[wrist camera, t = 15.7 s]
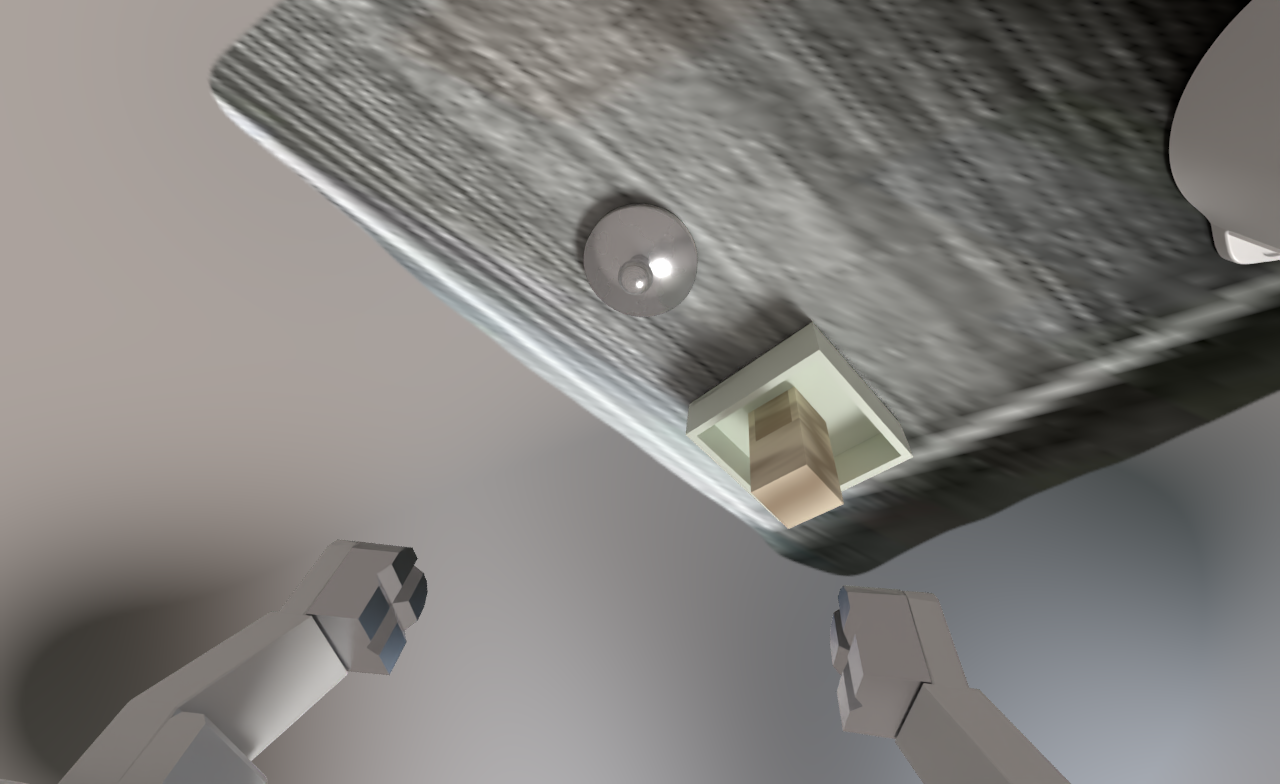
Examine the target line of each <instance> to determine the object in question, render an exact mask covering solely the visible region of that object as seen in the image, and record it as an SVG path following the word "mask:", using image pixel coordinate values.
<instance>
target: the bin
mask: <svg viewBox="0 0 1280 784" xmlns="http://www.w3.org/2000/svg"><path fill="white" fill-rule="evenodd" d="M792 387H795V388H796V389H797V390H798V391H799V392H800V393H801V394H802V396H803V397H804V398H805V399H806V400H807V401H808V402H809V403H810V405H811V406H812V407H813V408H814V409H815V410H816V411H817V412H818V414H819V415H820V416H821V417H822V418H823V419H824V420H825V422H826V425H827V429H828V434H829V438H830V443H831V448H832V452H833V457H834V461H835V466H836V470H837V475H838V480H839V484H840V489H841V492H842V491H844V490H846V489H848V488H850V487H852V486H854V485H856V484H858V483H860V482H862V481H864V480H866V479H868V478H871V477H873V476H875V475H877V474H879V473H881V472H883V471H885V470H887V469H889V468H891V467H893V466H895V465H897V464H899V463H902V462H904V461H906V460H908V459H910V458H912V457H913V455H912V452H911V450H910V447H909V445H908V442H907V440H906V437H905V434H904V432H903V429H902V427H901V424H900V423H899V422H898V420H897V419H896V418H895V417H894V416H893V415H892V414H891V412H890V411H889V410H888V409H887V408H886V407H885V405H884V404H883V403H882V402H881V401H880V400H879V398H878V397H877V396H876V395H875V394H874V393H873V391H872V390H871V389H870V388H869V387H868V386H867V385H866V383H865V382H864V381H863V380H862V379H861V378H860V376H859V375H858V374H857V373H856V372H855V371H854V369H853V368H852V367H851V366H850V365H849V364H848V362H847V361H846V360H845V359H844V358H843V357H842V355H841V354H840V353H839V352H838V351H837V350H836V349H835V347H834V346H833V345H832V344H831V343H830V342H829V340H828V339H827V338H826V337H825V336H824V335H823V333H822V332H821V331H820V330H819V329H818V328H817V326H816V325H815V324H814V323H813V322H811V323H810V324H808V325H807V326H805V327H804V328H802V329H801V330H799V331H798V332H796V333H795V334H794V335H792V336H791V337H789V338H788V339H786V340H785V341H783V342H782V343H780V344H779V345H777V346H776V347H774V348H773V349H771V350H770V351H768V352H767V353H765V354H764V355H762V356H761V357H759V358H758V359H756V360H755V361H753V362H752V363H750V364H749V365H747V366H746V367H744V368H743V369H741V370H740V371H738V372H737V373H735V374H734V375H732V376H731V377H729V378H728V379H726V380H725V381H723V382H722V383H720V384H719V385H717V386H716V387H714V388H713V389H711V390H710V391H708V392H707V393H705V394H704V395H702V396H701V397H699V398H698V399H696V400H695V401H693V402H692V403H690V404H689V410H688V419H687V428H686V435H687V436H688V437H689V438H690V439H691V440H692V441H693V442H694V443H695V444H696V445H697V446H698V447H700V448H701V449H702V450H703V451H704V452H705V453H706V454H707V455H708V456H709V457H710V458H711V459H713V460H714V461H715V462H716V463H717V464H718V465H719V466H720V467H721V468H722V469H723V470H724V471H725V472H727V473H728V474H729V475H730V476H731V477H732V478H733V479H734V480H735V481H736V482H737V483H738V484H740V485H741V486H742V487H743V488H744V489H745V490H746V491H747V492H748V493H749V494H750V495H751V496H753V497H754V498H755V499H756V500H757V501H758V502H759V503H760V504H761V505H762V506H763V507H764V508H766V507H765V506H764V505H763V504H762V503H761V502H760V501H759V500H758V499H757V498H756V497H755V496H754V495H753V494H752V493H751V481H750V452H749V424H748V413H750V412H752V411H753V410H755V409H757V408H758V407H760V406H762V405H763V404H765V403H767V402H768V401H770V400H772V399H774V398H775V397H777V396H779V395H780V394H782V393H784V392H785V391H787V390H789V389H791V388H792ZM766 509H767V508H766ZM767 510H768V509H767ZM768 511H769V510H768ZM769 512H770V511H769ZM770 513H771V512H770ZM771 514H772V513H771ZM772 515H773V516H774V517H775V518H776V519H777V520H778V521H780V520H779V519H778V518H777V517H776V516H775V515H774V514H772Z"/></svg>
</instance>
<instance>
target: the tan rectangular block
mask: <svg viewBox="0 0 1280 784" xmlns="http://www.w3.org/2000/svg"><path fill="white" fill-rule="evenodd" d="M748 424H749V452H750V481H751V493H752V494H753V495H754V496H755V497H756V498H757V499H758V500H759V501H760V502H761V503H762V504H763V505H764V506H765V507H766V508H767V509H768V510H769V511H770V512H771V513H772V514H774V515H775V516H776V517H777V518H778V519H779V520H780V521H781V522H782V523H783V524H784V525H785V526H786V527H787V528H788V529H789V528H791V527H794V526H796V525H798V524H800V523H803V522H805V521H807V520H809V519H811V518H814V517H816V516H818V515H820V514H823V513H825V512H827V511H829V510H831V509H834V508H836V507H838V506H840V505H843V504H844V503H843V498H842V493H841V489H840V484H839V480H838V475H837V470H836V466H835V461H834V457H833V452H832V448H831V443H830V438H829V434H828V429H827V425H826V422H825V420H824V419H823V418H822V417H821V416H820V415H819V414H818V412H817V411H816V410H815V409H814V408H813V407H812V406H811V405H810V403H809V402H808V401H807V400H806V399H805V398H804V397H803V396H802V394H801V393H800V392H799V391H798V390H797V389H796V388H795V387H792V388H791V389H789V390H787V391H785V392H784V393H782V394H780V395H779V396H777V397H775V398H774V399H772V400H770V401H768V402H767V403H765V404H763V405H762V406H760V407H758V408H757V409H755V410H753V411H752V412H750V413H748Z"/></svg>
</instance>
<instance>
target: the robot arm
mask: <svg viewBox="0 0 1280 784" xmlns="http://www.w3.org/2000/svg"><path fill="white" fill-rule="evenodd" d="M1169 158H1170V166H1171V171H1172V174H1173V177H1174V180H1175V182H1176V185H1177V186H1178V188H1179V190H1180V192H1181V193H1182V194H1183V196H1184V197H1185V198H1186V199H1187V200H1188V201H1189V202H1190V203H1191V204H1192V205H1193V206H1194V207H1195V208H1196V209H1198V210H1199V211H1200V212H1201V213H1202V214H1203V215H1204V216H1205V217H1206V218H1207V219H1208V220H1209V222H1210V223H1211V227H1212V234H1213V239H1214V243H1215V247H1216V249H1217V252H1218V253H1219V255H1220V256H1221V257H1222V258H1224V259H1226V260H1229V261H1232V262H1235V263H1238V264H1253V263H1260V262H1267V261H1274V260H1280V0H1252V1H1251V2H1250V3H1249V4H1248V5H1247V6H1246V7H1245V8H1244V9H1243V10H1242V11H1241V12H1240V13H1239V14H1238V15H1237V16H1236V17H1235V18H1234V19H1233V20H1232V21H1231V22H1230V24H1229V25H1228V26H1227V27H1226V28H1225V29H1224V31H1223V32H1222V33H1221V34H1220V35H1219V37H1218V38H1217V39H1216V40H1215V42H1214V43H1213V44H1212V46H1211V47H1210V48H1209V50H1208V51H1207V53H1206V54H1205V55H1204V57H1203V58H1202V60H1201V61H1200V63H1199V65H1198V66H1197V68H1196V69H1195V71H1194V73H1193V75H1192V76H1191V78H1190V80H1189V82H1188V84H1187V86H1186V88H1185V90H1184V92H1183V94H1182V97H1181V99H1180V102H1179V104H1178V107H1177V110H1176V113H1175V116H1174V120H1173V123H1172V128H1171V134H1170V142H1169ZM417 559H418V558H417V556H416V554H415V552H414V550H413V548H411V547H402V546H393V545H384V544H375V543H366V542H356V541H346V540H336V541H335V542H333V543H332V544H330V545H329V546H328V547H327V548H326V549H325V551H324V552H323V553H322V555H321V556H320V557H319V559H318V560H317V561H316V563H315V564H314V565H313V567H312V568H311V569H310V571H309V572H308V573H307V575H306V576H305V577H304V579H303V580H302V581H301V583H300V584H299V585H298V587H297V588H296V589H295V591H294V592H293V593H292V595H291V596H290V597H289V599H288V600H287V601H286V603H285V604H284V605H283V607H282V608H281V609H280V611H279V612H276V611H271V612H270V613H268V614H266V615H265V616H263V617H262V618H260V619H258V620H257V621H255V622H254V623H252V624H251V625H249V626H247V627H246V628H244V629H243V630H241V631H240V632H238V633H236V634H235V635H233V636H232V637H230V638H229V639H227V640H225V641H224V642H222V643H221V644H219V645H217V646H216V647H214V648H213V649H211V650H210V651H208V652H206V653H205V654H203V655H201V656H200V657H198V658H197V659H195V660H194V661H192V662H191V663H189V664H187V665H186V666H184V667H183V668H181V669H180V670H178V671H176V672H175V673H173V674H171V675H170V676H168V677H167V678H165V679H164V680H162V681H160V682H159V683H157V684H156V685H154V686H152V687H151V688H150V689H148V690H146V691H145V692H143V693H141V694H140V695H138V696H137V697H135V698H134V699H132V700H130V701H129V702H128V703H127V704H126V706H125V707H124V708H123V709H122V710H121V712H120V713H119V714H118V715H117V716H116V717H115V719H114V720H113V721H112V722H111V723H110V724H109V725H108V726H107V728H106V729H105V730H104V731H103V732H102V733H101V735H100V736H99V737H98V738H97V739H96V740H95V741H94V743H93V744H92V745H91V746H90V747H89V748H88V749H87V751H86V752H85V753H84V754H83V755H82V756H81V758H80V759H79V760H78V761H77V762H76V764H74V766H73V767H72V768H71V769H70V770H69V771H68V773H67V774H66V775H65V776H64V777H63V778H62V779H61V781H60V782H59V783H58V784H267V777H266V776H265V775H264V774H263V773H262V772H261V771H260V770H259V769H258V768H257V767H256V766H255V765H254V764H253V763H252V762H251V761H252V760H253V759H254V758H255V757H256V756H257V755H258V754H259V753H260V752H262V751H263V750H264V749H265V748H266V747H267V746H268V745H269V744H270V743H272V742H273V741H274V740H275V739H276V738H277V737H278V736H279V735H281V734H282V733H283V732H284V731H285V730H286V729H287V728H288V727H290V726H291V725H292V724H293V723H294V722H295V721H296V720H297V719H298V718H300V716H302V715H303V714H304V713H305V712H306V711H307V710H308V709H310V708H311V707H312V706H313V705H314V704H315V703H316V702H317V701H318V700H320V699H321V698H322V697H323V696H324V695H325V694H326V693H327V692H328V691H330V690H331V689H332V688H333V687H334V686H335V685H336V684H337V683H338V682H340V681H341V680H342V679H343V678H344V677H345V676H346V675H347V674H348V672H347V671H351V672H362V673H374V674H384V675H390V673H391V671H392V669H393V667H394V666H395V663H396V662H397V660H398V658H399V656H400V654H401V652H402V650H403V648H404V646H405V644H406V636H405V630H406V629H407V628H409V627H410V626H411V625H413V624H414V623H415V622H416V621H418V619H419V617H420V615H421V613H422V610H423V608H424V605H425V601H426V597H427V592H428V591H427V580H426V578H425V576H424V573H423V572H421V571H420V570H419V569H418V568H417V567H415V566H414V564H415V562H416V561H417ZM838 603H839V610H837V611H835V612H834V613H833V617H832V622H831V632H830V645H831V655H832V663H833V666H834V668H835V669H836V670H837V672H838V673H839V674H840V675H841V679H840V682H839V686H838V689H837V696H838V702H839V709H840V715H841V721H842V728H843V731H845V732H852V733H859V734H865V735H872V736H878V737H885V738H892V739H896V740H895V743H896V744H897V746H898V747H899V749H900V750H901V751H902V753H903V754H904V756H905V757H906V759H907V760H908V762H909V763H910V765H911V766H912V767H913V769H914V770H915V772H916V773H917V775H918V776H919V778H920V779H921V780H922V782H923V783H924V784H1070V782H1069V781H1068V780H1067V779H1066V778H1065V777H1064V776H1063V775H1062V774H1061V773H1060V772H1059V771H1058V770H1057V769H1056V768H1055V767H1054V766H1053V765H1052V764H1051V763H1050V762H1049V761H1048V760H1047V759H1046V758H1045V757H1044V756H1043V755H1042V754H1041V753H1040V752H1039V750H1038V749H1036V747H1035V746H1034V745H1033V744H1032V743H1031V742H1030V741H1029V740H1028V739H1027V738H1026V737H1025V736H1024V735H1023V734H1022V733H1021V732H1020V731H1019V730H1018V729H1017V728H1016V727H1015V726H1014V725H1013V724H1012V723H1011V722H1010V721H1009V720H1008V719H1007V718H1006V717H1005V716H1004V715H1003V713H1002V712H1001V711H1000V710H998V708H996V707H995V705H994V704H993V703H992V702H991V701H990V700H989V699H988V698H987V697H986V696H985V695H984V694H983V693H982V692H981V691H980V690H978V689H972V688H969V686H968V683H967V680H966V677H965V675H964V671H963V668H962V666H961V663H960V660H959V657H958V654H957V651H956V649H955V646H954V643H953V640H952V637H951V634H950V631H949V629H948V626H947V623H946V620H945V617H944V614H943V611H942V609H941V606H940V603H939V600H938V599H937V598H936V596H935V595H934V594H932V593H924V592H910V591H900V590H897V589H884V588H870V587H857V586H842V587H841V588H840V591H839V595H838ZM0 784H27V783H21V782H16V781H9V780H4V779H0Z"/></svg>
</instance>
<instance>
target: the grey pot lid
mask: <svg viewBox="0 0 1280 784" xmlns="http://www.w3.org/2000/svg"><path fill="white" fill-rule="evenodd" d="M697 264H698V256H697V249H696V245H695V242H694V239H693V237H692V235H691V233H690V232H689V230H688V229H687V227H686V226H685V225H684V224H683V222H682V221H681V220H679V219H678V218H677V217H676V216H675V215H673V214H672V213H670V212H669V211H667V210H665V209H663V208H660V207H657V206H654V205H649V204H630V205H625V206H622V207H619V208H616V209H615V210H613V211H611V212H609V213H608V214H606V215H605V216H604V217H603V218H602V219H601V220H600V221H599V222H598V223H597V225H596V226H595V227H594V229H593V231H592V232H591V234H590V236H589V238H588V240H587V243H586V246H585V250H584V268H585V273H586V276H587V279H588V282H589V284H590V286H591V287H592V289H593V291H594V292H595V293H596V295H597V296H598V297H599V298H600V299H601V300H602V301H603V302H604V303H606V304H607V305H608V306H610V307H611V308H613V309H614V310H617V311H619V312H621V313H624V314H627V315H631V316H637V317H650V316H656V315H660V314H663V313H665V312H668V311H670V310H671V309H673V308H675V307H676V306H677V305H679V304H680V303H681V302H682V301H683V300H684V299H685V298H686V296H687V295H688V294H689V292H690V290H691V288H692V286H693V284H694V281H695V277H696V273H697Z"/></svg>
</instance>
